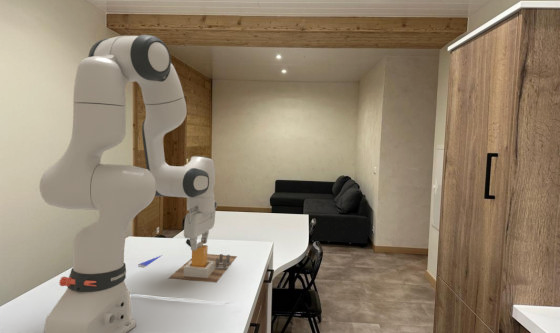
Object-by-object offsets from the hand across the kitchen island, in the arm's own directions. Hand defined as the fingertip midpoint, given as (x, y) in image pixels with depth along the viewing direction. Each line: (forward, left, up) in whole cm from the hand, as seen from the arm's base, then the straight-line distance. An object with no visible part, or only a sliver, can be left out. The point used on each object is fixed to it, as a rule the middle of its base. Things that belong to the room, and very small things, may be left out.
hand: (199, 246), depth 123 cm
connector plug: (+1, 0, -9) cm, 9 cm away
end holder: (+1, 0, -9) cm, 9 cm away
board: (+8, 0, -10) cm, 13 cm away
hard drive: (+10, +19, -11) cm, 24 cm away
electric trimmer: (+30, +13, -11) cm, 35 cm away
